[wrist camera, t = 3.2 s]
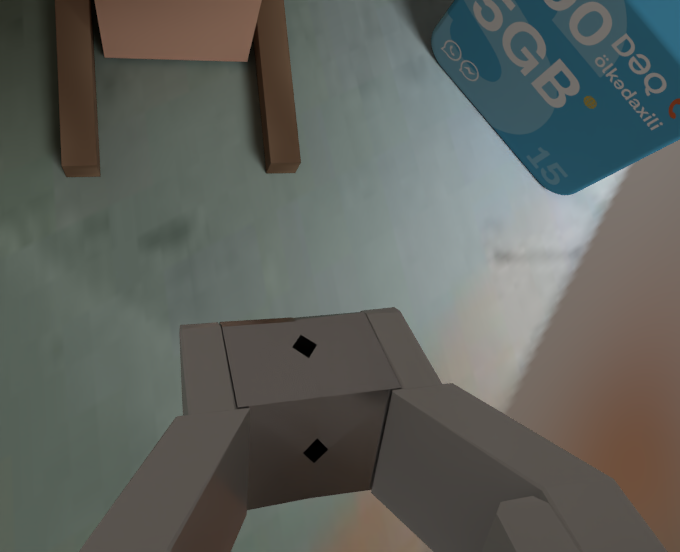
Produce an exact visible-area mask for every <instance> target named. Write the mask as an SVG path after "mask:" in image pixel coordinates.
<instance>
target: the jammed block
mask: <svg viewBox="0 0 680 552" xmlns="http://www.w3.org/2000/svg"><path fill="white" fill-rule="evenodd" d="M94 1H95V6H96V12H97V18H98V23H99V29H100V34H101V40H102V45H103V51H104V57H105V58H134V59H167V60H201V61H235V62H247V60H248V56H249V52H250V48H251V44H252V39H253V35H254V31H255V27H256V23H257V18H258V14H259V10H260V6H261V1H262V0H94Z"/></svg>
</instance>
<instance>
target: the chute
mask: <svg viewBox="0 0 680 552" xmlns="http://www.w3.org/2000/svg"><path fill="white" fill-rule="evenodd" d="M55 15H56V40H57V64H58V88H59V113H60V137H61V162H62V168H63V170H64V172H65V175H66V177H100V158H99V138H98V119H97V99H96V80H95V60H94V41H93V21H92V2H91V0H55ZM253 40H254V50H255V60H256V71H257V81H258V91H259V102H260V112H261V123H262V133H263V143H264V154H265V164H266V173H295V172H296V170H297V169H298V167H299V165H300V163H301V159H300V150H299V140H298V131H297V122H296V112H295V103H294V93H293V84H292V74H291V65H290V56H289V46H288V37H287V27H286V18H285V8H284V0H262V1H261V6H260V10H259V14H258V18H257V23H256V27H255V31H254V35H253Z"/></svg>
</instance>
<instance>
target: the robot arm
mask: <svg viewBox="0 0 680 552" xmlns="http://www.w3.org/2000/svg"><path fill="white" fill-rule="evenodd" d="M179 334H180V359H181V384H182V404H183V416H178V417H176V418H175V419H174V421H173V422H172V423H171V425H170V426H169V428H168V429H167V430H166V432H165V433H164V434H163V436H162V437H161V439H160V440H159V441H158V443H157V444H156V446H155V447H154V448H153V450H152V451H151V452H150V454H149V455H148V457H147V458H146V459H145V461H144V462H143V464H142V465H141V466H140V468H139V469H138V470H137V472H136V473H135V475H134V476H133V477H132V479H131V480H130V482H129V483H128V484H127V486H126V487H125V489H124V490H123V491H122V493H121V494H120V495H119V497H118V498H117V500H116V501H115V502H114V504H113V505H112V507H111V508H110V509H109V511H108V512H107V513H106V515H105V516H104V518H103V519H102V520H101V522H100V523H99V525H98V526H97V527H96V529H95V530H94V531H93V533H92V534H91V536H90V537H89V538H88V540H87V541H86V543H85V544H84V545H83V547H82V548H81V550H80V551H79V552H231V550H232V547H233V545H234V543H235V540H236V538H237V536H238V533H239V531H240V529H241V526H242V524H243V522H244V519H245V517H246V515H247V510H251V509H256V508H261V507H266V506H271V505H277V504H282V503H287V502H292V501H297V500H302V499H308V498H314V497H322V496H329V495H336V494H344V493H351V492H358V491H365V490H372V492H371V493H372V494H373V495H374V496H375V497H376V498H377V499H378V500H380V501H381V502H382V503H383V504H384V505H385V506H386V507H387V508H388V509H389V510H390V511H391V512H392V513H393V514H394V515H395V516H396V517H398V518H399V519H400V520H401V521H402V522H403V523H404V524H405V525H406V526H407V527H408V528H409V529H410V530H411V531H412V532H413V533H415V534H416V535H417V536H418V537H419V538H420V539H421V540H422V541H423V542H424V543H425V544H426V545H427V546H428V547H429V548H430V549H432V550H433V551H434V552H667V550H666V549H665V548H664V546H663V545H662V544H661V542H660V541H659V540H658V538H657V537H656V535H655V534H654V533H653V531H652V530H651V529H650V527H649V526H648V525H647V523H646V522H645V521H644V519H643V518H642V517H641V515H640V514H639V513H638V511H637V510H636V509H635V507H634V506H633V505H632V503H631V502H630V501H629V499H628V498H627V497H626V495H625V494H624V493H623V491H622V490H621V489H620V487H619V486H618V484H617V483H616V482H615V480H614V479H613V478H611V477H609V476H607V475H606V474H604V473H602V472H601V471H599V470H597V469H596V468H594V467H592V466H591V465H589V464H587V463H586V462H584V461H582V460H581V459H579V458H577V457H575V456H574V455H572V454H570V453H569V452H567V451H565V450H564V449H562V448H560V447H558V446H557V445H555V444H553V443H552V442H550V441H548V440H547V439H545V438H544V437H542V436H540V435H538V434H537V433H535V432H533V431H532V430H530V429H528V428H527V427H525V426H523V425H522V424H520V423H518V422H517V421H515V420H513V419H511V418H510V417H508V416H507V415H505V414H503V413H502V412H500V411H498V410H496V409H495V408H493V407H491V406H490V405H488V404H486V403H485V402H483V401H481V400H480V399H478V398H476V397H475V396H473V395H471V394H470V393H468V392H466V391H464V390H463V389H461V388H459V387H458V386H456V385H454V384H453V383H450V384H442V383H441V381H440V379H439V378H438V376H437V374H436V372H435V371H434V369H433V367H432V365H431V364H430V362H429V360H428V359H427V357H426V355H425V353H424V352H423V350H422V348H421V346H420V345H419V343H418V341H417V340H416V338H415V336H414V334H413V333H412V331H411V329H410V327H409V326H408V324H407V322H406V320H405V319H404V317H403V315H402V314H401V312H400V311H399V310H398V309H396V308H395V307H392V308H382V309H373V310H364V311H361V312H354V313H343V314H331V315H320V316H309V317H297V318H277V319H260V320H244V321H228V322H220V323H219V324H218V322H217V323H203V324H189V325H180V332H179Z"/></svg>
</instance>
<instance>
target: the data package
mask: <svg viewBox="0 0 680 552" xmlns="http://www.w3.org/2000/svg"><path fill="white" fill-rule="evenodd" d="M431 44H432V50H433V53H434V55H435V58H436V60H437V61H438V63H439V64H440V66H441V67H442V68H443V69H444V70H445V72H446V73H447V74H448V75H449V76H450V77H451V79H452V80H453V81H454V82H455V83H456V85H457V86H458V87H459V88H460V89H461V90H462V92H463V93H464V94H465V95H466V96H467V98H468V99H469V100H470V101H471V102H472V103H473V105H474V106H475V107H476V108H477V109H478V111H479V112H480V113H481V114H482V115H483V116H484V118H485V119H486V120H487V121H488V122H489V124H490V125H491V126H492V127H493V128H494V130H495V131H496V132H497V133H498V134H499V135H500V137H501V138H502V139H503V140H504V141H505V143H506V144H507V145H508V146H509V147H510V148H511V150H512V151H513V152H514V153H515V154H516V156H517V157H518V158H519V159H520V160H521V161H522V163H523V164H524V165H525V166H526V167H527V169H528V170H529V171H530V172H531V173H532V174H533V176H534V177H535V178H536V179H537V180H538V181H539V183H540V184H541V185H543V186H544V187H545V188H546V189H548V190H550V191H551V192H554V193H556V194H560V195H571V194H574V193H576V192H578V191H580V190H582V189H584V188H586V187H588V186H590V185H592V184H594V183H596V182H597V181H599V180H601V179H603V178H605V177H607V176H609V175H611V174H613V173H615V172H617V171H619V170H621V169H623V168H625V167H627V166H629V165H631V164H633V163H635V162H637V161H639V160H640V159H642V158H644V157H646V156H648V155H650V154H652V153H654V152H656V151H658V150H660V149H662V148H664V147H666V146H667V145H670V144H672V143H674V142H676V141H678V140H679V139H680V0H454V2H453V3H452V5H451V6H450V7H449V9H448V10H447V12H446V13H445V14H444V16H443V17H442V19H441V20H440V21H439V23H438V24H437V26H436V27H435V29H434V30H433V33H432V38H431Z"/></svg>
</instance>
